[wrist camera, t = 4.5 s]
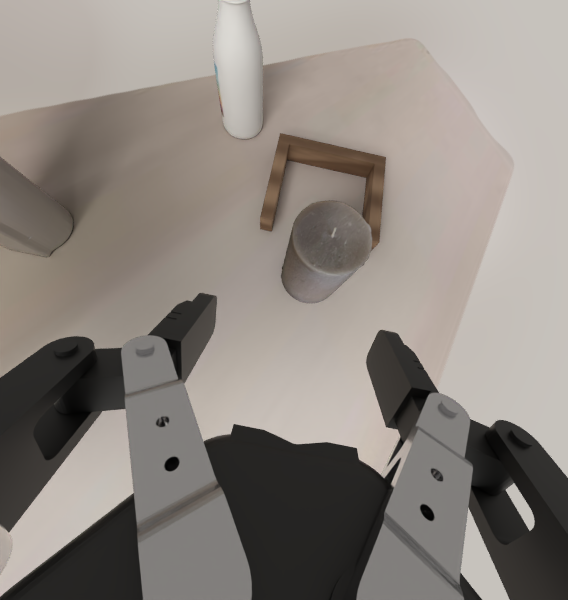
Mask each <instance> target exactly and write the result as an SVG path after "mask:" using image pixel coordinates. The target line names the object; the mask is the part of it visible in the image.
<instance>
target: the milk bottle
mask: <svg viewBox="0 0 568 600" xmlns="http://www.w3.org/2000/svg"><path fill="white" fill-rule="evenodd" d="M213 57H214V65H215V73H216V79H217V86H218V93H219V99H220V106H221V112H222V118H223V124H224V127H225V129H226V130H227V132H228V133H229V134H230V135H232V136H233V137H236V138H239V139H250V138H253V137H255V136H256V135H258V134H259V132H260V131H261V129H262V125H263V56H262V47H261V43H260V38H259V35H258V32H257V28H256V26H255V23H254V19H253V16H252V12H251V6H250V0H218V14H217V21H216V25H215V30H214V37H213Z"/></svg>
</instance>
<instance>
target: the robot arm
mask: <svg viewBox="0 0 568 600" xmlns="http://www.w3.org/2000/svg"><path fill="white" fill-rule="evenodd" d="M72 228H73V219H72V216H71V215H70V213H69V212H68V211H67V210H66V209H65V208H64V207H63V206H61V205H60V204H59V203H58V202H57V201H56V200H54V199H53V198H51V197H50V196H49V195H48V194H46V193H45V192H44V191H43V190H41V189H40V188H39V187H38V186H36V185H35V184H34V183H33V182H31V181H30V180H29V179H28V178H26V177H25V176H24V175H23V174H21V173H20V172H19V171H18V170H16V169H15V168H14V167H13V166H11V165H10V164H9V163H8V162H6V161H5V160H4V159H3V158H1V157H0V245H1V246H3V247H5V248H7V249H10V250H14V251H19V252H24V253H29V254H34V255H39V256H44V257H49V256H50V254H51V252H52V251H53V250H54V249H56V248H58V247H59V246H61V245H62V244H63V243H64V242H65V241H66V240H67V239H68V237H69V236H70V234H71V232H72ZM216 305H217V297H216V296H213V295H209V294H204V293H199V294H198V295H197V297H196V298H195V299H194V300H193V301H192V302H191V301H185V302H182V303H180V304H178V305H177V306H176V307H175V308H174V309H173V310H172V311H171V313H169V314H168V315H167V316H166V318H164V319H163V320H162V321H161V322H160V323H159V324H158V325H157V326H156V327H155V328H154V329H153V330H152V331H151V332H150V333H149V334H148V336H141V337H137V338H134V339H132V340H130V341H128V342H127V343H126V344H125V345H124V346H123V347H122V348H111V349H95V346H94V343H93V341H92V340H91V339H89V338H86V337H79V336H74V337H66V338H62V339H59V340H56V341H53V342H51V343H49V344H47V345H45V346H44V347H42V348H41V349H40V350H38V351H37V352H36V353H34V354H33V355H31V356H30V357H29V358H27V359H26V360H24V361H23V362H22V363H20V364H19V365H18V366H16V367H15V368H13V369H12V370H11V371H9V372H8V373H6V374H5V375H4V376H2V377H1V378H0V575H1V573H2V571H3V570H4V568H5V566H6V565H7V562H8V560H9V558H10V555H11V552H12V546H13V542H12V537H11V535H10V534H9V532H10V531H11V529H12V528H13V527H14V525H15V524H16V523H17V521H18V520H19V519H20V518H21V516H22V515H23V514H24V512H25V511H26V510H27V508H28V507H29V506H30V505H31V503H32V502H33V501H34V499H35V498H36V497H37V495H38V494H39V493H40V492H41V490H42V489H43V488H44V486H45V485H46V484H47V482H48V481H49V480H50V479H51V477H52V476H53V475H54V473H55V472H56V471H57V469H58V468H59V467H60V466H61V464H62V463H63V462H64V460H65V459H66V458H67V456H68V455H69V454H70V453H71V451H72V450H73V449H74V447H75V446H76V445H77V444H78V442H79V441H80V440H81V438H82V437H83V436H84V434H85V433H86V432H87V431H88V429H89V428H90V427H91V425H92V424H93V423H94V421H95V420H96V419H97V418H98V416H99V415H100V414H101V412H102V411H107V410H117V409H126V418H127V428H128V438H129V448H130V458H131V469H132V479H133V489H134V493H133V494H132V495H130V496H129V497H128V498H127V499H125V500H124V501H123V502H121V503H120V504H119V505H118V506H116V507H115V508H114V509H112V510H111V511H110V512H108V513H107V514H106V515H105V516H103V517H102V518H101V519H99V520H98V521H97V522H96V523H94V524H93V525H92V526H90V527H89V528H88V529H86V530H85V531H84V532H83V533H81V534H80V535H79V536H77V537H76V538H75V539H74V540H72V541H71V542H70V543H68V544H67V545H66V546H64V547H63V548H62V549H61V550H59V551H58V552H57V553H55V554H54V555H53V556H51V557H50V558H49V559H48V560H46V561H45V562H44V563H42V564H41V565H40V566H39V567H37V568H36V569H35V570H33V571H32V572H31V573H29V574H28V575H27V576H26V577H24V578H23V579H22V580H20V581H19V582H18V583H16V584H15V585H14V586H13V587H11V588H10V589H9V590H8V591H7V592H5V593H4V594H3V595H2V596H1V597H0V600H482V599H481V598H480V597H479V595H478V594H477V593H476V592H475V590H474V589H473V588H472V587H471V585H470V584H469V583H468V582H467V580H466V579H465V578H464V577H463V575H462V574H461V573H460V570H461V563H462V554H463V546H464V538H465V530H466V522H467V513H468V507H469V509H470V512H471V514H472V516H473V518H474V520H475V523H476V525H477V527H478V529H479V532H480V534H481V536H482V538H483V541H484V543H485V545H486V547H487V550H488V552H489V554H490V556H491V559H492V561H493V563H494V565H495V568H496V570H497V572H498V574H499V577H500V579H501V581H502V583H503V585H504V588H505V590H506V592H507V594H508V597H509V599H510V600H568V478H567V477H566V475H565V474H564V473H563V472H562V470H561V469H560V468H559V467H558V466H557V464H556V463H555V462H554V461H553V459H552V458H551V457H550V456H549V455H548V453H547V452H546V451H545V450H544V448H542V446H541V445H540V444H539V443H538V441H537V440H535V439H534V438H533V437H532V436H531V435H530V434H529V433H528V432H526V431H525V430H523V429H522V428H520V427H519V426H517V425H515V424H513V423H511V422H508V421H504V420H498V421H496V422H495V423H494V424H493V425H492V426H491V427H490V428H489V427H487V426H485V425H482V424H480V423H478V422H476V421H473V420H471V419H470V418H469V415H468V414H467V412H466V411H465V409H464V408H463V407H462V406H461V405H460V404H459V403H457V402H456V401H455V400H453V399H451V398H450V397H448V396H446V395H443V394H440V393H439V392H438V390H437V389H436V387H435V386H434V384H433V382H432V381H431V379H430V377H429V376H428V374H427V372H426V371H425V370H424V368H423V366H422V364H421V363H420V361H419V359H418V358H417V356H416V354H415V353H414V352H413V351H412V350H411V349H410V348H409V347H408V346H406V345H404V343H403V342H402V340H401V338H400V337H399V335H398V334H397V333H394V332H389V331H385V330H380V331H379V332H378V333H377V335H376V338H375V340H374V342H373V344H372V346H371V348H370V350H369V353H368V355H367V360H366V364H367V369H368V372H369V375H370V378H371V381H372V384H373V387H374V390H375V394H376V397H377V400H378V403H379V406H380V409H381V412H382V415H383V419H384V422H385V425H386V427H388V428H393V429H398V431H399V434H400V437H399V438H398V440H397V442H396V444H395V446H394V448H393V450H392V452H391V454H390V457H389V459H388V461H387V463H386V465H385V467H384V469H383V471H382V473H381V475H380V474H379V473H378V472H377V471H375V470H374V469H373V468H371V467H370V466H369V465H367V464H365V463H364V462H362V461H360V460H359V458H358V453H357V448H353V447H348V446H343V445H338V444H333V443H328V442H324V443H311V444H293V443H291V442H288V441H286V440H284V439H282V438H280V437H278V436H276V435H274V434H271V433H269V432H267V431H265V430H261V429H256V428H251V427H246V426H241V425H235V424H234V425H233V429H232V433H231V434H228V435H222V436H217V437H214V438H211V439H208V440H206V441H204V442H203V439H202V436H201V433H200V430H199V427H198V424H197V421H196V418H195V415H194V412H193V409H192V406H191V403H190V400H189V397H188V394H187V391H186V388H185V385H184V383H185V381H186V380H187V378H188V376H189V374H190V373H191V371H192V369H193V367H194V366H195V364H196V362H197V360H198V359H199V357H200V355H201V353H202V352H203V350H204V348H205V346H206V345H207V343H208V341H209V339H210V338H211V336H212V334H213V331H214V327H215V320H216ZM513 483H515V485H516V486H517V487H518V489H519V491H520V492H521V494H522V496H523V497H524V499H525V500H526V502H527V503H528V505H529V507H530V508H531V510H532V512H533V515H534V519H535V525H534V528H533V529H532V530H531V531H529V529H528V528H527V526H526V524H525V523H524V521H523V519H522V518H521V516H520V514H519V512H518V511H517V509H516V507H515V506H514V504H513V502H512V501H511V499H510V497H509V496H508V494H507V492H506V489H507V488H508V487H509V486H511V485H512V484H513Z"/></svg>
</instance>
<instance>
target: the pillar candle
mask: <svg viewBox="0 0 568 600" xmlns="http://www.w3.org/2000/svg"><path fill="white" fill-rule="evenodd" d="M371 250H372V236H371V227H370V225H369V224H368V223H366V221H365V220H364V218H363V217H362V216H361V215H360V214H359V213H358V212H357V211H356V210H355V209H353V208H352V207H350V206H348V205H346V204H344V203H342V202H337V201H321V202H316V203H313V204H311V205H309V206H308V207H306V208H305V209H303V211H301V213H300V214H299V215H298V216H297V218H296V220H295V222H294V225H293V228H292V232H291V236H290V240H289V244H288V248H287V252H286V257H285V259H284V264H283V267H282V274H281V278H282V283H283V285H284V287H285V289H286V291H287V292H288V293H289V294H290V295H291V296H292V297H293V298H295V299H296V300H298V301H301V302H305V303H317V302H320V301H323V300H324V299H326V298H327V297H329V296H330V295H331V294H332V293H333V292H334V291H335V290H336V289H337V288H339V287H340V286H341V285H342V284H343V283H344V282H345V281H346V280H347V279H348V278H349V277H350V276H351V275H352V274H353V273H354V272H355V271H356V270H358V269H359V268H360V267H361V266H363V265H364V262H365V261H367V259H368V258H369V254H370V251H371Z"/></svg>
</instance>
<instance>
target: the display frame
mask: <svg viewBox="0 0 568 600" xmlns="http://www.w3.org/2000/svg"><path fill="white" fill-rule="evenodd" d="M287 160H290V161H294V162H299V163H303V164H307V165H312V166H316V167H321V168H325V169H330V170H334V171H339V172H343V173H348V174H352V175H357V176H361V177H366V188H365V198H364V207H363V218H364V220H365V221H366V223H368V224H369V225H370V227H371V236H372V249H373V248H374V247H375V246H376V245H377V244H378V243H379V238H380V225H381V212H382V199H383V186H384V174H385V161H386V157H382V156H378V155H374V154H369V153H365V152H360V151H356V150H352V149H347V148H343V147H339V146H334V145H330V144H325V143H321V142H317V141H312V140H308V139H303V138H299V137H295V136H290V135H286V134H281V133H280V137H279V141H278V145H277V149H276V154H275V158H274V162H273V166H272V170H271V175H270V179H269V183H268V187H267V191H266V196H265V200H264V204H263V208H262V212H261V217H260V229H263V230H267V231H272V227H273V222H274V218H275V213H276V209H277V204H278V199H279V195H280V190H281V186H282V181H283V177H284V172H285V168H286V163H287Z"/></svg>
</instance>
